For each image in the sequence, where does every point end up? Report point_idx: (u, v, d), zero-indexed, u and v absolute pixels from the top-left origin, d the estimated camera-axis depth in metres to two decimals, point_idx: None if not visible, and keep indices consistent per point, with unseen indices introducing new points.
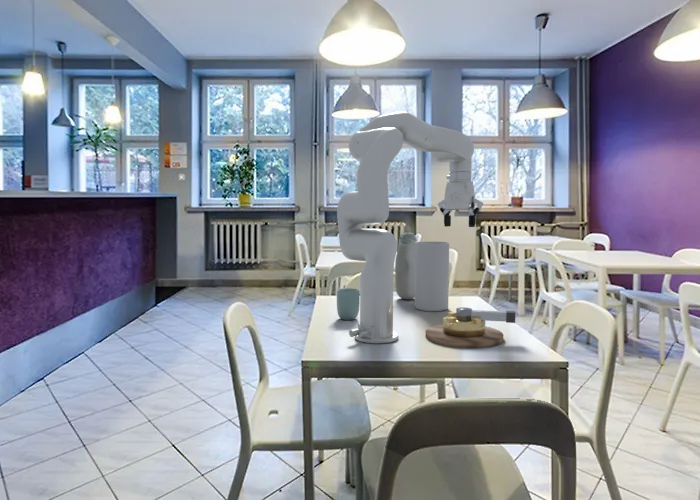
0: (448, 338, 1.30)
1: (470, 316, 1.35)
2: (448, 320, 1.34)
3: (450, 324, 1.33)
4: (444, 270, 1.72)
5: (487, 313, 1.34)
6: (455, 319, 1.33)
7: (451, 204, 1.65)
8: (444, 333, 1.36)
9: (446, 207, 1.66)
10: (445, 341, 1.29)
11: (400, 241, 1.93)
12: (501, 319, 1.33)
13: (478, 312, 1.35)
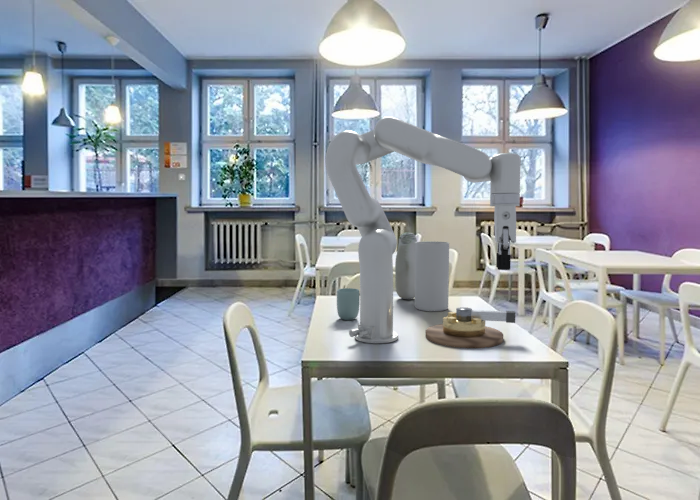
0: (448, 338, 1.30)
1: (470, 316, 1.35)
2: (448, 320, 1.34)
3: (450, 324, 1.33)
4: (444, 270, 1.72)
5: (487, 313, 1.34)
6: (455, 319, 1.33)
7: None
8: (444, 333, 1.36)
9: None
10: (445, 341, 1.29)
11: (400, 241, 1.93)
12: (501, 319, 1.33)
13: (478, 312, 1.35)
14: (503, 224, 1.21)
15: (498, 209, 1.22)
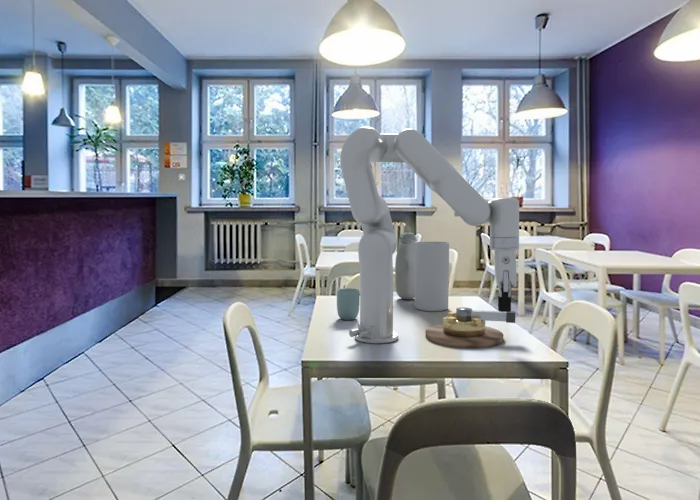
0: (448, 338, 1.30)
1: (470, 316, 1.35)
2: (448, 320, 1.34)
3: (450, 324, 1.33)
4: (444, 270, 1.72)
5: (487, 313, 1.34)
6: (455, 319, 1.33)
7: None
8: (444, 333, 1.36)
9: (516, 284, 1.23)
10: (445, 341, 1.29)
11: (400, 241, 1.93)
12: (501, 319, 1.33)
13: (478, 312, 1.35)
14: (503, 268, 1.22)
15: (498, 253, 1.23)
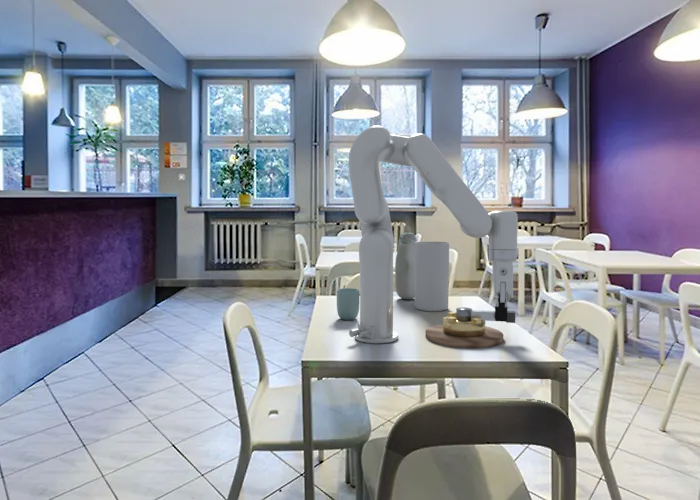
0: (448, 338, 1.30)
1: (470, 316, 1.35)
2: (448, 320, 1.34)
3: (450, 324, 1.33)
4: (444, 270, 1.72)
5: (487, 313, 1.34)
6: (455, 319, 1.33)
7: None
8: (444, 333, 1.36)
9: None
10: (445, 341, 1.29)
11: (400, 241, 1.93)
12: None
13: (478, 312, 1.35)
14: (500, 280, 1.26)
15: (496, 265, 1.27)
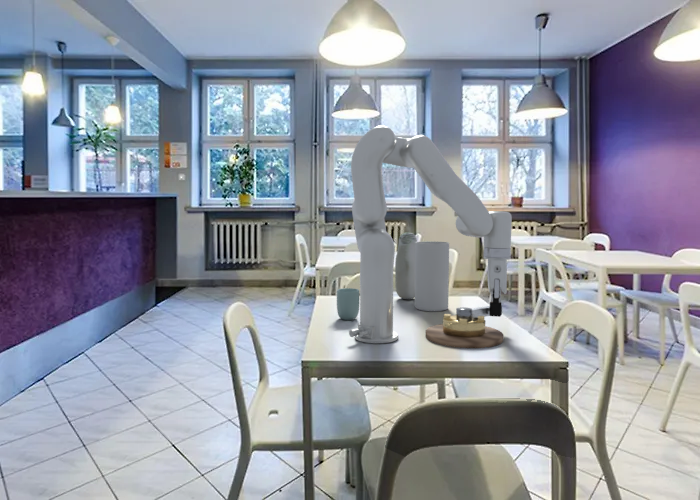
0: (448, 338, 1.30)
1: (471, 315, 1.36)
2: (461, 322, 1.31)
3: (465, 326, 1.31)
4: (444, 270, 1.72)
5: (482, 310, 1.39)
6: (467, 320, 1.32)
7: None
8: (444, 333, 1.36)
9: (506, 291, 1.34)
10: (445, 341, 1.29)
11: (400, 241, 1.93)
12: None
13: (476, 310, 1.38)
14: (495, 277, 1.33)
15: (490, 263, 1.34)
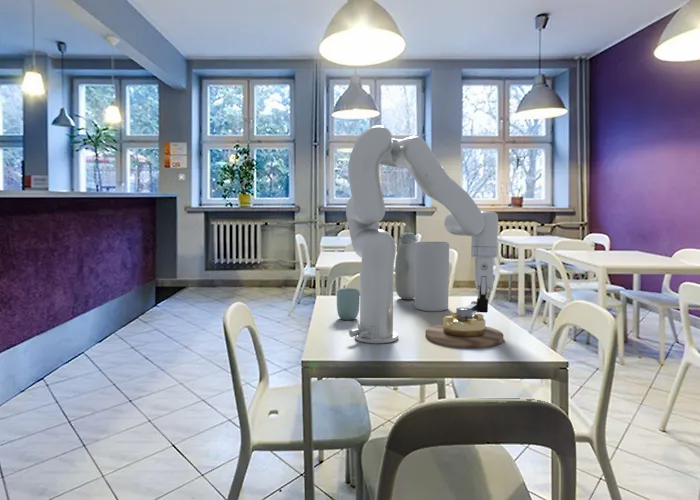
0: (448, 338, 1.30)
1: None
2: (472, 322, 1.31)
3: (476, 326, 1.31)
4: (444, 270, 1.72)
5: (473, 308, 1.42)
6: None
7: None
8: (444, 333, 1.36)
9: None
10: (445, 341, 1.29)
11: (400, 241, 1.93)
12: (476, 310, 1.45)
13: (470, 309, 1.39)
14: (481, 274, 1.38)
15: (477, 260, 1.39)
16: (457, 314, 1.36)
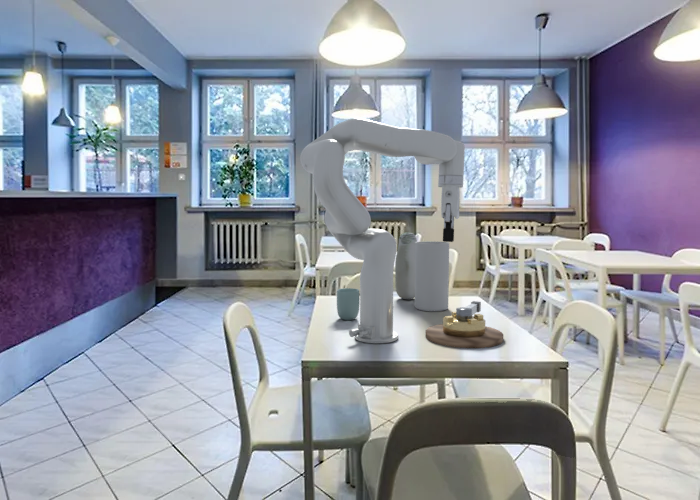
0: (448, 338, 1.30)
1: None
2: (472, 322, 1.31)
3: (476, 326, 1.31)
4: (444, 270, 1.72)
5: (473, 308, 1.42)
6: None
7: (458, 212, 1.43)
8: (444, 333, 1.36)
9: (457, 215, 1.42)
10: (445, 341, 1.29)
11: (400, 241, 1.93)
12: (476, 310, 1.45)
13: (470, 309, 1.39)
14: (446, 201, 1.41)
15: (443, 188, 1.42)
16: (457, 314, 1.36)
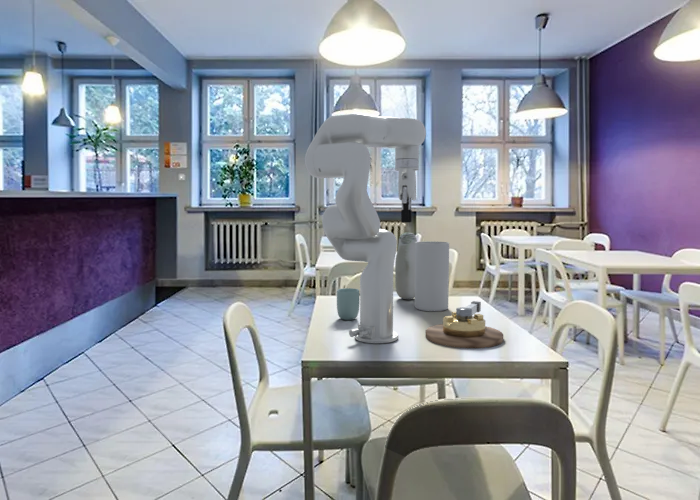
0: (448, 338, 1.30)
1: None
2: (472, 322, 1.31)
3: (476, 326, 1.31)
4: (444, 270, 1.72)
5: (473, 308, 1.42)
6: None
7: (414, 194, 1.51)
8: (444, 333, 1.36)
9: (413, 197, 1.49)
10: (445, 341, 1.29)
11: (400, 241, 1.93)
12: (476, 310, 1.45)
13: (470, 309, 1.39)
14: (403, 184, 1.48)
15: (399, 172, 1.49)
16: (457, 314, 1.36)
